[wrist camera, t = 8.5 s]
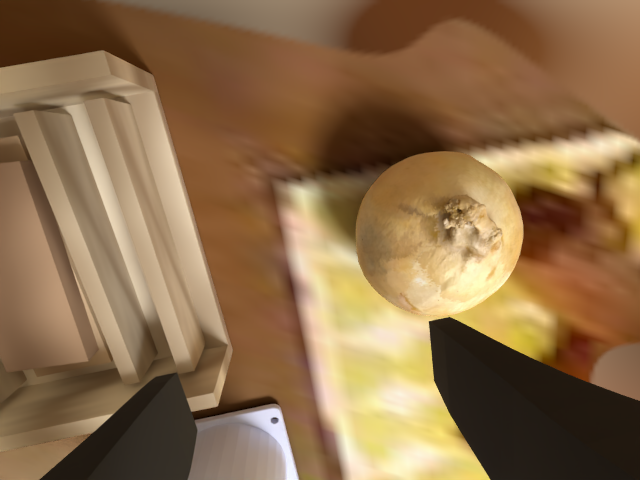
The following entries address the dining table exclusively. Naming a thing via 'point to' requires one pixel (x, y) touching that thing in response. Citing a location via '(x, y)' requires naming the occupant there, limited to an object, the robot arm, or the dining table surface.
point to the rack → (113, 244)
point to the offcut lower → (17, 151)
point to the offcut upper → (36, 280)
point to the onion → (438, 233)
